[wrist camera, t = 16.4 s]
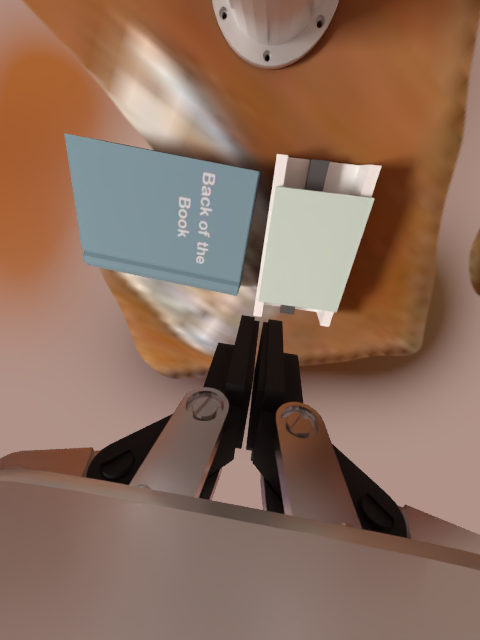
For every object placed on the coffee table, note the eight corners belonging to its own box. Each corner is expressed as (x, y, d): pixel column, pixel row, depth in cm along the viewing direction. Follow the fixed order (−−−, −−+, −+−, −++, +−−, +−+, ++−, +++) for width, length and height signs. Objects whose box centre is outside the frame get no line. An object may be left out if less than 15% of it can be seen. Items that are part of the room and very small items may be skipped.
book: (260, 171, 33) (258, 171, 29) (240, 285, 42) (236, 298, 37) (91, 138, 34) (64, 133, 30) (104, 257, 42) (84, 267, 38)
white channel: (276, 156, 32) (276, 153, 28) (367, 166, 31) (381, 165, 27) (255, 300, 42) (253, 315, 38) (323, 310, 41) (328, 326, 37)
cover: (275, 186, 29) (276, 186, 28) (371, 197, 28) (374, 198, 28) (258, 298, 36) (258, 301, 35) (335, 308, 36) (336, 312, 35)
